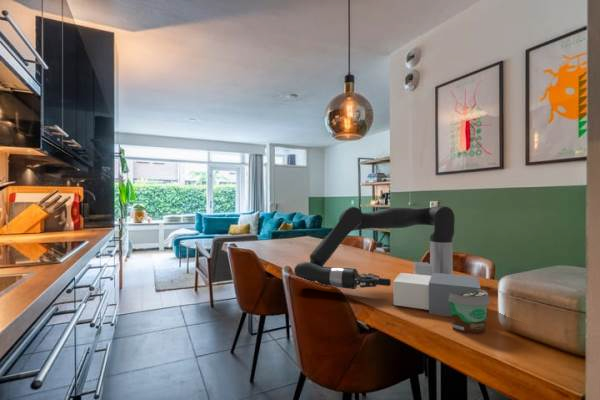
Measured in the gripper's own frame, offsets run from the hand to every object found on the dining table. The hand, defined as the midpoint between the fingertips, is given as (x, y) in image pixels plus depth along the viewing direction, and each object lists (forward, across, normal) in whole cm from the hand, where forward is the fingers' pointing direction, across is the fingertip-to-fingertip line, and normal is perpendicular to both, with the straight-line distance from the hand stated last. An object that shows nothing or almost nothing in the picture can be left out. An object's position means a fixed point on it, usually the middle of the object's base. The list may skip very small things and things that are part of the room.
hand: (390, 282), depth 109 cm
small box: (+9, +20, +7) cm, 23 cm away
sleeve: (+20, 0, +6) cm, 21 cm away
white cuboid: (+15, 0, +6) cm, 16 cm away
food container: (+25, -17, +7) cm, 31 cm away
